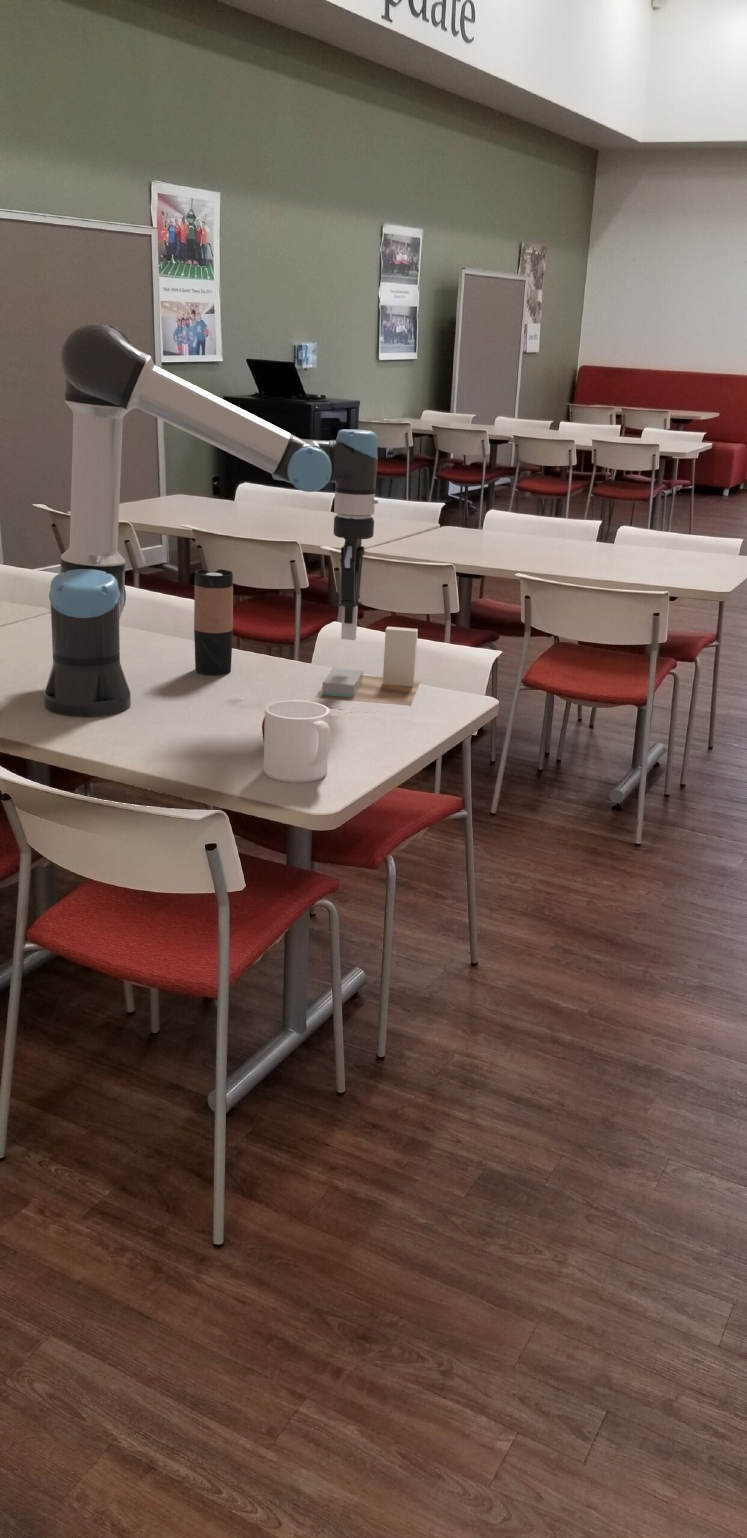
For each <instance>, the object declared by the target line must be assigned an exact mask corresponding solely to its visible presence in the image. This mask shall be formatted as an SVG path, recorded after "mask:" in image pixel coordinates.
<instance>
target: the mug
mask: <svg viewBox="0 0 747 1538" xmlns="http://www.w3.org/2000/svg"><path fill="white" fill-rule="evenodd" d="M330 711H331V709H330V708H329V707H328V706H326V705H324V704H322V703H319V702H314V701H309V700H298V699H297V700H295V699H294V700H290V699H289V700H288V699H287V700H282V701H281V700H280V701H274V702H271V703H269V704H267V705H266V706H265V708H264V717H265V730H264V741H263V772H264V773H265V775H266V776H267V777H269V778H270V779H273V780H275V781H279V782H284V783H289V784H290V783H293V784H294V783H296V784H298V783H299V784H303V783H311V782H315V781H319V780H322V779H323V778H324V777H326V775H327V774H328V761H329V760H328V758H329V757H328V756H329V752H330V746H331V729H330V713H331V712H330Z"/></svg>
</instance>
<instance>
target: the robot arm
mask: <svg viewBox="0 0 747 1538" xmlns="http://www.w3.org/2000/svg"><path fill="white" fill-rule="evenodd" d="M60 365H61V369H62V372H63V374H64V376H65V381H64V382H65V383H64V385H65V387H64V388H65V389H64V403H65V404H66V405H67V406H68V407H69V408H70V409H71V411H72V415H73V419H72V423H73V424H72V447H71V448H72V450H71V453H72V454H71V455H72V456H71V458H72V459H71V483H70V484H71V486H70V487H71V488H70V491H71V493H70V495H71V496H70V518H69V519H70V524H69V529H70V530H69V547H68V548H67V550H65V551H64V552H63V553H62V554H61V555H60V572H59V573H57V574H56V575H55V576H54V577H53V578H52V579H51V581H50V586H49V587H50V589H49V592H48V600H49V602H50V619H51V620H50V621H51V642H52V643H51V645H52V647H51V648H52V666H51V669H50V672H49V677H48V679H47V683H46V685H45V686H46V687H45V689H44V693H43V694H44V695H43V698H44V699H43V701H44V702H43V703H44V708H45V709H46V710H48V711H50V712H52V713H54V714H58V715H63V716H71V717H100V716H101V717H102V716H108V715H114V714H118V713H121V712H123V711H125V710H127V709H128V708H130V707H131V704H132V703H131V702H132V701H131V696H132V694H131V690H130V688H129V685H128V681H127V678H126V676H125V673H124V671H123V668H122V665H121V653H120V652H121V651H120V650H121V649H120V644H121V643H120V619H121V615H122V613H123V611H124V607H125V605H126V601H127V592H126V591H127V590H126V587H125V586H126V585H125V580H126V579H125V577H126V560H125V558H124V557H123V556H122V554H120V552H119V551H118V549H119V548H118V544H119V521H120V520H119V519H120V498H121V497H120V496H121V472H122V471H121V470H122V449H123V448H122V447H123V445H122V444H123V428H124V427H123V425H124V417H125V416H126V414H128V413H129V412H130V411H132V410H133V409H139V410H140V411H143V412H145V413H146V414H149V415H151V416H153V417H155V418H157V419H158V420H161V421H163V422H165V423H167V424H169V425H172V426H174V427H175V428H177V429H179V430H181V431H183V432H186V433H187V434H190V435H192V436H194V437H195V438H198V439H200V440H202V441H204V442H206V443H208V444H210V445H212V446H214V447H217V448H218V449H220V450H222V451H225V452H226V453H228V454H230V455H232V456H235V457H237V458H239V459H240V460H243V461H245V462H247V463H249V464H252V465H253V466H256V468H259V469H261V470H263V471H266V472H267V473H270V474H271V476H272V478H273V480H276V481H284V482H287V483H289V484H291V485H293V486H294V487H295V489H298V490H300V491H302V492H305V493H315V492H318V491H320V490H322V489H324V487H326V486H327V484H329V483H335V488H334V489H335V491H334V507H333V511H334V513H335V514H336V515H335V517H334V518H333V535H334V536H335V537H337V538H340V539H341V538H343V539H344V545H342V546H341V548H340V556H341V557H340V560H339V561H340V569H341V572H340V577H341V578H340V579H341V580H340V583H341V584H340V586H341V587H340V588H341V589H340V591H341V592H340V598H341V599H340V601H339V603H338V606H339V607H342V610H341V611H342V613H341V616H342V617H341V633H340V634H341V635H340V639H341V640H345V641H346V640H348V641H356V639H357V631H358V630H357V629H358V628H357V626H358V625H357V624H358V610H359V609H358V607H359V606H358V605H360V606H361V605H362V600H360V597H361V595H360V594H361V593H360V592H361V584H362V583H361V581H362V572H363V571H362V569H363V558H364V554H365V546H362V545H363V544H362V541H363V540H368V539H371V538H373V537H374V530H375V529H374V527H375V518H374V517H372V516H373V515H375V505H378V504H379V500H378V498H376V487H377V486H376V485H377V472H378V471H377V470H378V459H379V457H378V435H377V434H376V432H374V431H372V430H368V429H367V430H366V429H352V428H351V429H344V428H342V429H340V430H338V432H337V436H336V439H331V440H323V439H322V440H321V439H308V438H307V439H306V438H300V437H298V436H295V435H294V434H291V433H290V432H288V431H286V430H284V429H282V428H280V427H278V426H276V425H274V424H272V423H270V422H268V421H266V420H264V419H263V418H261V417H258V416H257V415H255V414H252V413H250V412H248V411H247V410H245V409H242V408H241V407H238V406H237V405H235V404H232V403H230V402H228V401H227V400H225V399H222V398H221V397H218V396H216V395H214V394H213V393H211V392H209V391H206V389H205V390H204V389H203V388H201V387H199V386H197V385H195V384H192V383H191V382H189V381H187V380H184V379H183V378H181V377H179V376H177V375H175V374H172V373H171V372H170V371H168V370H165V369H164V368H161V367H159V366H157V365H156V364H155V363H154V360H153V359H152V356H151V355H149V354H147V353H145V352H143V351H141V350H140V349H137V348H136V347H135V346H133V344H132V343H131V341H130V339H129V338H128V337H127V335H126V334H125V333H123V332H122V331H121V330H120V329H118V328H117V327H116V326H113V325H110V324H109V325H108V324H106V323H102V322H101V323H97V322H96V323H95V322H94V323H87V324H86V323H85V324H81V325H79V326H77V327H76V328H74V329H73V330H72V331H71V332H69V334H68V335H67V336H66V337H65V339H64V341H63V343H62V345H61V349H60Z"/></svg>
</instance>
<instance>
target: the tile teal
mask: <svg viewBox="0 0 747 1538" xmlns="http://www.w3.org/2000/svg"><path fill="white" fill-rule="evenodd" d="M363 674H364V670H361V669H360V670H359V669H357V670H356V669H348V668H337V667H336V668H335V667H332V668H331V670H330V671H329V673H328V675H327V676H326V677H325V678H324V680H323V682H322V686H323V687H321V688H322V695H329V696H340V697H352V698H354V696H355V694H356V693H357V691H358V689H359V688H360V686H361V684H362V680H363Z"/></svg>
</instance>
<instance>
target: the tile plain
mask: <svg viewBox="0 0 747 1538" xmlns="http://www.w3.org/2000/svg"><path fill="white" fill-rule="evenodd" d="M418 631H419V629H418V628H410V627H399V626H387V627H386V628H385V634H384V635H385V636H384V650H383V651H384V654H383V671H382V672H383V674H382V677H383V684H387V685H398V686H410V687H413V686H414V681H415V680H416V664H417V662H416V661H417V648H418V647H417V646H418V634H419V633H418Z"/></svg>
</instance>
